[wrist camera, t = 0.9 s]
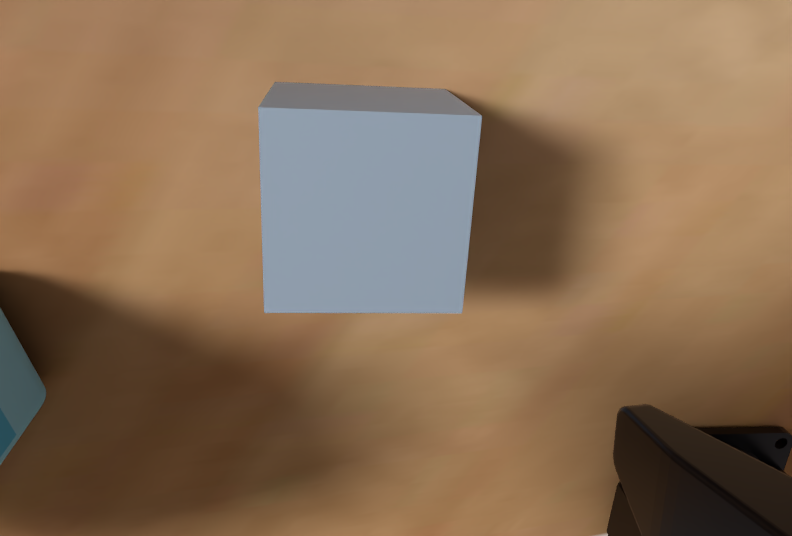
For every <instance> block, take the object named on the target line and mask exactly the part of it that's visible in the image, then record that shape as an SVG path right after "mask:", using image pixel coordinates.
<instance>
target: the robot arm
mask: <svg viewBox="0 0 792 536" xmlns="http://www.w3.org/2000/svg"><path fill="white" fill-rule="evenodd" d="M777 440H778V441H777ZM791 448H792V435H791V434H790V433H789V432H788V431H786V430H785V429H784V428H783V427H732V428H694V427H692V426H690V425H688V424H686V423H684V422H683V421H681V420H679V419H677V418H675V417H673V416H671V415H669V414H667V413H665V412H663V411H661V410H659V409H657V408H655V407H653V406H651V405H647V404H643V405H632V406H624V407H622V408H621V409H620V410H619V412H618V414H617V421H616V430H615V440H614V450H613V459H614V465H615V469H616V472H617V474H618V477H619V479H620V482H619V483H618V485H617V489H616V493H615V497H614V502H613V506H612V510H611V515H610V519H609V523H608V528H607V533H608V536H792V477H791V476H789V475H787V474H786V473H785V472H784V471H783V470H784V468H785V465H786V462H787V459H788V456H789V453H790V450H791Z"/></svg>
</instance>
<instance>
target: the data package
mask: <svg viewBox="0 0 792 536" xmlns="http://www.w3.org/2000/svg"><path fill="white" fill-rule="evenodd" d="M45 398H46V389H45V386H44V385H43V383H42V381H41V379H40V377H39V376H38V374H37V372H36V370H35V368H34V367H33V365H32V363H31V361H30V360H29V358H28V356H27V354H26V352H25V351H24V349H23V347H22V345H21V344H20V342H19V340H18V338H17V336H16V335H15V333H14V331H13V329H12V328H11V326H10V324H9V322H8V320H7V319H6V317H5V315H4V313H3V312H2V310H1V308H0V465H1V463H2V462H3V461H4V459H5V458H6V456H7V455H8V453H9V452H10V451H11V449H12V448H13V446H14V445H15V443H16V442H17V441H18V439H19V438H20V436H21V435H22V433H23V432H24V431H25V429H26V428H27V426H28V425H29V423H30V422H31V421H32V419H33V418H34V416H35V415H36V413H37V412H38V411H39V409H40V408H41V406H42V405H43V403H44V401H45Z"/></svg>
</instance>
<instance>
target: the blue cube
mask: <svg viewBox="0 0 792 536" xmlns="http://www.w3.org/2000/svg"><path fill="white" fill-rule="evenodd" d="M258 111H259V146H260V181H261V216H262V252H263V287H264V313H462V310H463V300H464V290H465V280H466V270H467V260H468V250H469V241H470V231H471V221H472V211H473V201H474V191H475V181H476V172H477V162H478V152H479V142H480V132H481V122H482V115H480V114H479V113H478V112H476V111H475V110H473V109H472V108H471V107H469V106H468V105H467V104H465V103H464V102H462V101H461V100H460V99H458V98H457V97H455V96H454V95H453V94H451V93H450V92H449V91H447V90H446V89H431V88H407V87H383V86H360V85H336V84H312V83H288V82H275V83H274V84H273V86H272V87H271V89H270V90H269V92H268V93H267V95H266V96H265V98H264V100H263V101H262V103H261V104H260V106H259V107H258Z"/></svg>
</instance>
